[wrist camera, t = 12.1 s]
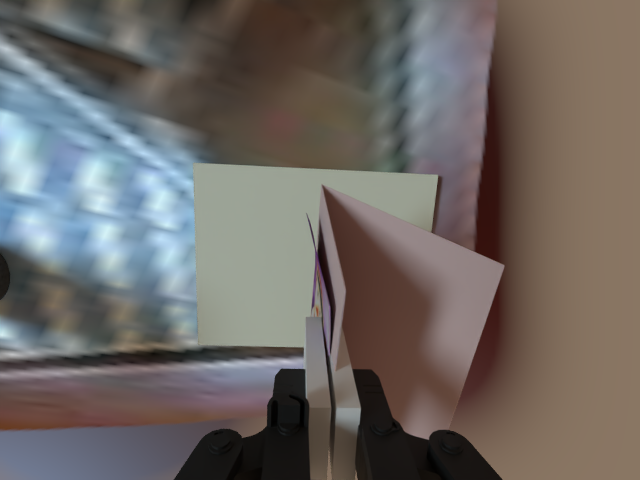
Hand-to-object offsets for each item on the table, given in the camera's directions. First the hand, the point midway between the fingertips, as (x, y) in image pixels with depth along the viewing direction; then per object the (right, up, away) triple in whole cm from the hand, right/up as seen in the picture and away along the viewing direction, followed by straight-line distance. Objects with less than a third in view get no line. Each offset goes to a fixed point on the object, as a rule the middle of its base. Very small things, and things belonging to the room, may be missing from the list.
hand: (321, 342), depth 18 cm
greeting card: (+2, -8, +6) cm, 10 cm away
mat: (-1, +3, +14) cm, 14 cm away
